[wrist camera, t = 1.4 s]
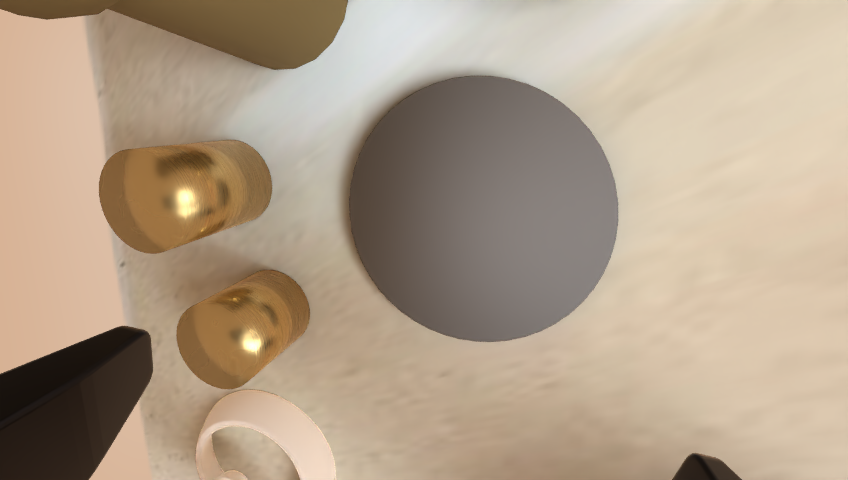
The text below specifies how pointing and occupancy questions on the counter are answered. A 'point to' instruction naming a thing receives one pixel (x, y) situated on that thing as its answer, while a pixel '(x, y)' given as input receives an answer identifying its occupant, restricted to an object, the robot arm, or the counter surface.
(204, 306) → the cylinder
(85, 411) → the robot arm
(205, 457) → the vr controller
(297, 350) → the counter surface
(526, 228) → the coaster
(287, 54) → the brown pawn piece
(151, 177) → the cylinder
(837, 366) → the counter surface
